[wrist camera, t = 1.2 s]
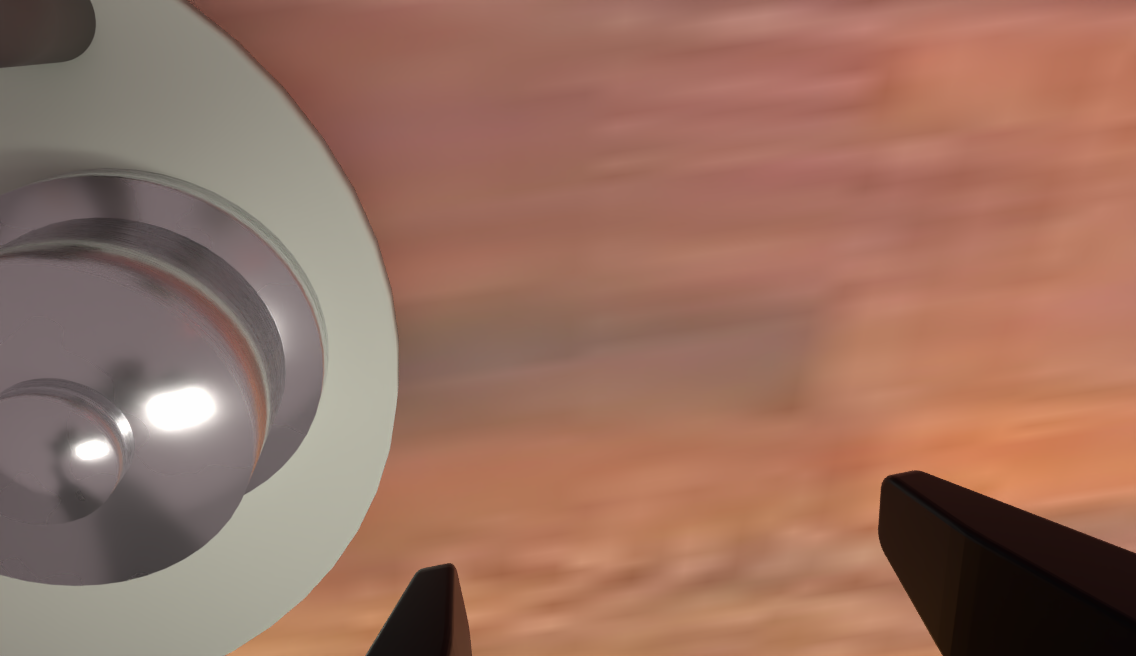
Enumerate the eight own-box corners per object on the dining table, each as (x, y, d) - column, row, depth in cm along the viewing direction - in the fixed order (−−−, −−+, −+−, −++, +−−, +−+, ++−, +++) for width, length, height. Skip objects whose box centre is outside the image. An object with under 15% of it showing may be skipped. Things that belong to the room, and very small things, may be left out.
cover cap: (362, 460, 19) (338, 600, 14) (29, 521, 18) (-110, 691, 13) (278, 143, 16) (214, 190, 11) (-131, 198, 15) (-384, 275, 10)
